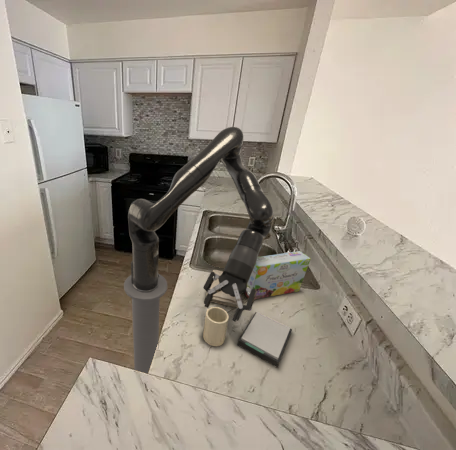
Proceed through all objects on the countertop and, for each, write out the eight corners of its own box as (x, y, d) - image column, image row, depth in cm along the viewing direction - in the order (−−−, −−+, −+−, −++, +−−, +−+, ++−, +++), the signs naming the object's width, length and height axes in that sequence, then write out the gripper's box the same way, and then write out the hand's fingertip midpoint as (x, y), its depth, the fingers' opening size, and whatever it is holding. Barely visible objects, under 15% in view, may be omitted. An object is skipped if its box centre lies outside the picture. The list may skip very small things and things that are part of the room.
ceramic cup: (199, 338, 75) (202, 315, 71) (209, 325, 79) (212, 303, 75) (218, 350, 71) (222, 327, 67) (227, 336, 76) (232, 313, 72)
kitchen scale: (237, 345, 73) (238, 338, 72) (254, 316, 83) (256, 309, 82) (277, 367, 67) (279, 360, 66) (290, 333, 77) (293, 327, 76)
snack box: (250, 302, 89) (258, 266, 82) (241, 291, 94) (248, 257, 87) (300, 291, 94) (311, 257, 88) (289, 282, 99) (299, 249, 92)
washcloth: (204, 301, 89) (205, 295, 87) (211, 272, 104) (212, 266, 103) (240, 310, 85) (241, 303, 84) (241, 278, 101) (242, 272, 99)
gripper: (266, 275, 75) (245, 327, 72) (221, 258, 83) (201, 304, 80) (264, 268, 69) (241, 325, 66) (216, 251, 77) (193, 300, 74)
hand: (219, 313), depth 73 cm, fingers open, 8 cm apart
